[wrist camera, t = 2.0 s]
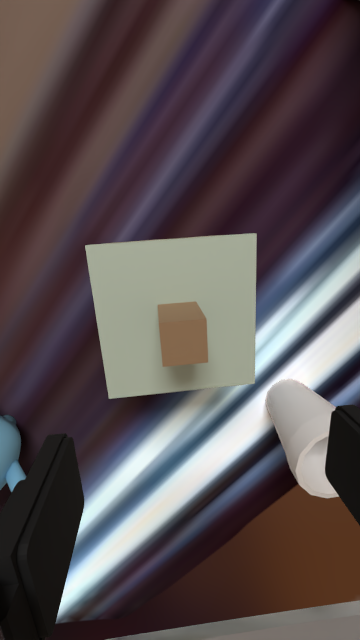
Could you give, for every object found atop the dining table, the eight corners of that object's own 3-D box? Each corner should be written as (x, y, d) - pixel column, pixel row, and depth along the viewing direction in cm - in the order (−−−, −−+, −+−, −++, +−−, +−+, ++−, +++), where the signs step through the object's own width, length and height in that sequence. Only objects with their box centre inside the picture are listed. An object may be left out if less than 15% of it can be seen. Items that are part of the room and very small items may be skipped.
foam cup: (321, 412, 45) (384, 481, 33) (264, 432, 45) (305, 508, 33) (309, 360, 42) (373, 414, 30) (248, 381, 43) (287, 444, 30)
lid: (248, 233, 28) (283, 234, 20) (247, 373, 32) (276, 416, 25) (90, 244, 27) (66, 250, 19) (111, 387, 31) (99, 436, 24)
